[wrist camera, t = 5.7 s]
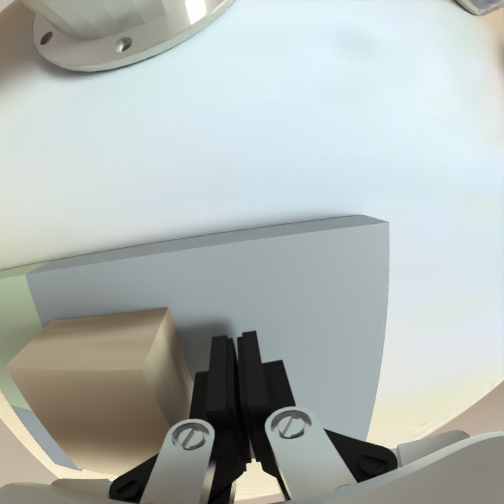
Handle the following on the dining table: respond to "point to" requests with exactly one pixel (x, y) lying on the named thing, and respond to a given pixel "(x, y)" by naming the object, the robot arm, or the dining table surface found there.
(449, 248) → the dining table surface
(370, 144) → the dining table surface
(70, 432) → the block
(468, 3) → the energy drink
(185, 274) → the board
